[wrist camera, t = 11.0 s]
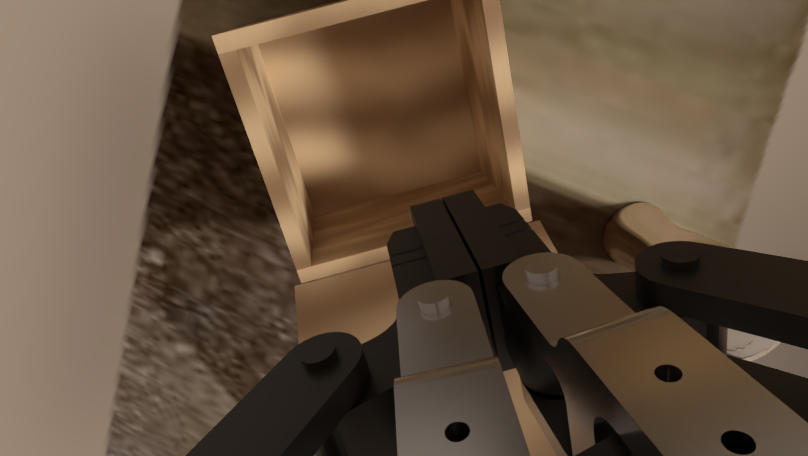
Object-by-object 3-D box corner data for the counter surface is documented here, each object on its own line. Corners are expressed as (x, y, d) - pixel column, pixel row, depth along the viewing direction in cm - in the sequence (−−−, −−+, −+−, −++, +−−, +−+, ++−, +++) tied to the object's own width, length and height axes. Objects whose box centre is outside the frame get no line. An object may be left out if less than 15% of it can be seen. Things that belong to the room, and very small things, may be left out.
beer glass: (584, 256, 50) (681, 355, 36) (619, 187, 47) (736, 266, 34) (647, 274, 51) (762, 375, 38) (684, 208, 49) (821, 291, 35)
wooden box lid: (315, 575, 24) (319, 577, 24) (680, 472, 24) (678, 477, 25) (294, 286, 36) (297, 291, 36) (539, 219, 36) (539, 226, 37)
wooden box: (236, 27, 39) (207, 36, 29) (455, -30, 39) (494, -38, 30) (305, 225, 45) (298, 284, 36) (491, 175, 45) (532, 221, 36)
